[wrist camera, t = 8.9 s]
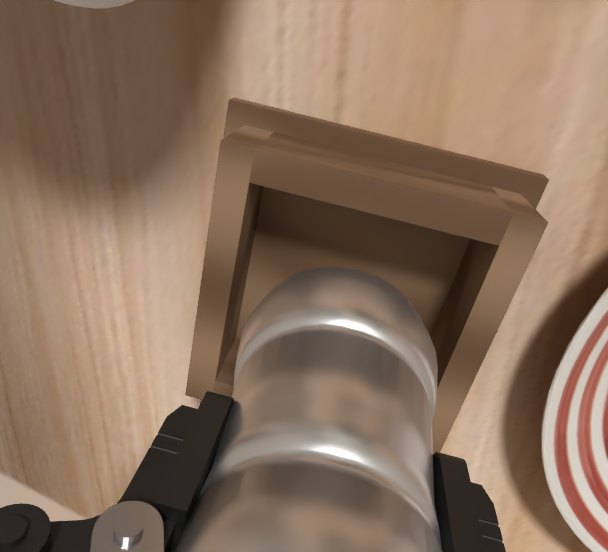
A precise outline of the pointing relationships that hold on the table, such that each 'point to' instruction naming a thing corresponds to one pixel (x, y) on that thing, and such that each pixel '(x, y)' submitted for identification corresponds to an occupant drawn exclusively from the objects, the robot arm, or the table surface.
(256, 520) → the plastic bottle
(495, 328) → the bottle stand
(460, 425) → the table surface
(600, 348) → the dinner plate
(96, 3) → the mug
